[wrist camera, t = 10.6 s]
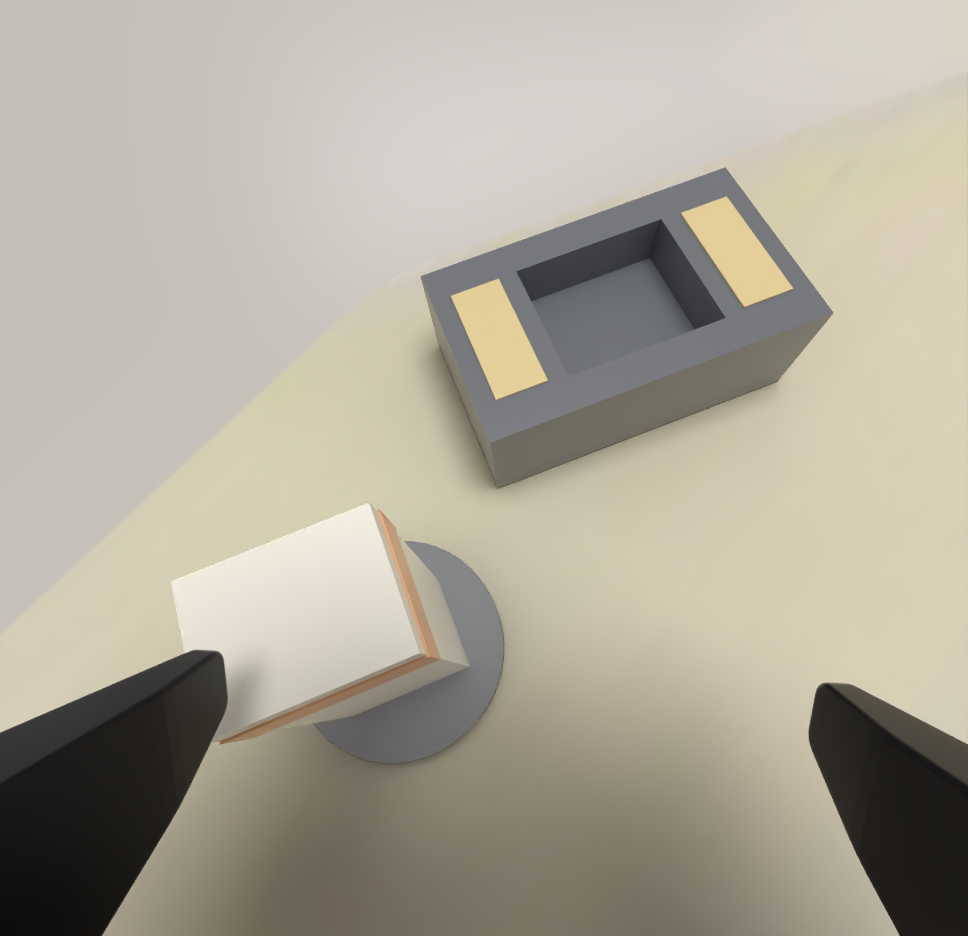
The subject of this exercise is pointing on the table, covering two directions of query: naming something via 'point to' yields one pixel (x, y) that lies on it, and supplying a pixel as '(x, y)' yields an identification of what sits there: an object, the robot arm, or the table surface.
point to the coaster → (444, 703)
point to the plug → (319, 624)
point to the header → (620, 323)
